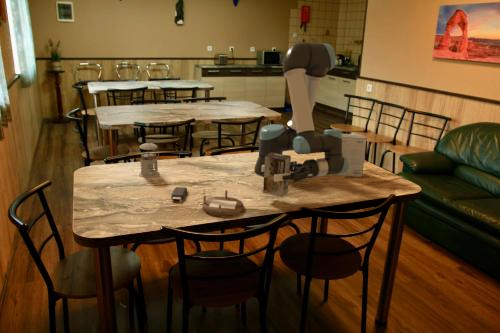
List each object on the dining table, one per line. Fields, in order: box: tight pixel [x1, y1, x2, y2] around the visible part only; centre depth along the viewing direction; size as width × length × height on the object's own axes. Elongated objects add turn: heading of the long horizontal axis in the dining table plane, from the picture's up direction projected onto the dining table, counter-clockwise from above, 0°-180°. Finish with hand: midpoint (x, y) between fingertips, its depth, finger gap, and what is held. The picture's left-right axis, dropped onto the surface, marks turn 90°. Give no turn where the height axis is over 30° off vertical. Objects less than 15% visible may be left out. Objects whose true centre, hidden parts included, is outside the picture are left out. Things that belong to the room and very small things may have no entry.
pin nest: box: [202, 189, 244, 218], centre depth 159 cm, size 16×16×4 cm
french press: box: [138, 122, 161, 179], centre depth 190 cm, size 10×12×25 cm
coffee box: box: [262, 152, 292, 198], centre depth 165 cm, size 9×6×16 cm
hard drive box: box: [332, 133, 368, 178], centre depth 202 cm, size 16×8×20 cm, turn 84°
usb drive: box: [170, 186, 188, 203], centre depth 169 cm, size 5×12×3 cm, turn 0°
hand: (268, 173), depth 163 cm, fingers closed on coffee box, 10 cm apart
